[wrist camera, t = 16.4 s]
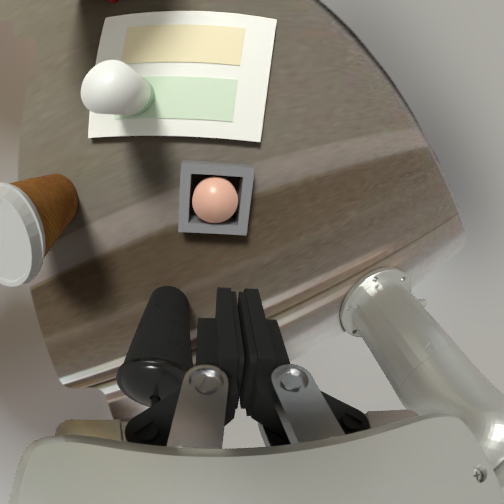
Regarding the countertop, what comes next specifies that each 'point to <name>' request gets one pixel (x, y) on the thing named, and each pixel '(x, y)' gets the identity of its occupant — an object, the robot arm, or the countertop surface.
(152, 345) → the drinking cup
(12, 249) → the disposable coffee cup
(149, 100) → the white cylinder
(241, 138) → the picture board
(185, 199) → the button housing
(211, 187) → the button cap
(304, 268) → the countertop surface
